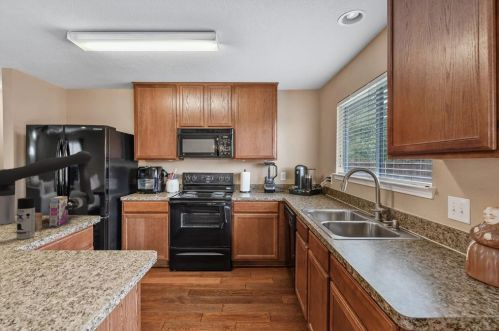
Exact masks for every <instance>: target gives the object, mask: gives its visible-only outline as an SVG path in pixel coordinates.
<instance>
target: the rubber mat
mask: <svg viewBox="0 0 499 331" xmlns="http://www.w3.org/2000/svg"><path fill="white" fill-rule="evenodd" d="M70 223H71V221H67V222H65V223H63V224H61V225H59V226H49V225H47V226H44V229H59V228H60V227H63V226H65V225H68V224H70Z"/></svg>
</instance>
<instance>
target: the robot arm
mask: <svg viewBox="0 0 499 331" xmlns="http://www.w3.org/2000/svg"><path fill="white" fill-rule="evenodd" d="M91 160H92V154H91V152H88V151H86V150H81V151H78V152H76V153H72V154H70V155H65V156H57V157H50V158H45V159H40V160H37V161H35V162H32V163H28V164H26V165H22V166H18V167H12V168H2V169H0V226H2V225H1V224H3V225H9V223H10V224H13V223H15V222H16V182H18V181H20V180H22V179H26V178H31V177H37V176H42V175H47V174H51V173H54V172H58V171H60V170H63V169H67V168H69V167H72V166H76V167H77V172H78V181H79V182H78V184H79V185H78V186H79V192H80V193H84V195H79V196H76V197H73V198H67V206H65V210H67V211H73V210H76V209H79V208H82V207H84V206H88V205H90V206H91V205H94V204H95V201H96V198H95V195H94V192H93V190H92V183H91V177H90V173H89V163H90V162H91ZM85 194H86V195H85ZM48 208H49V210H50V206H49V207H48Z"/></svg>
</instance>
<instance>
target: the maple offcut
mask: <svg viewBox="0 0 499 331" xmlns="http://www.w3.org/2000/svg"><path fill="white" fill-rule="evenodd" d="M35 224H38V230H41V228H42V229H43V224H42V221H39V222H36V223H35Z"/></svg>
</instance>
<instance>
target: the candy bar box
mask: <svg viewBox="0 0 499 331" xmlns="http://www.w3.org/2000/svg"><path fill="white" fill-rule="evenodd" d="M67 199H68V196H67V195H64V196H63V195H61V196H55V197H50V198H49V207H50V209H49V216H48V217H49V223H48V226H59V225H61V224H63V223H65V222H68V220H67V218H68V210H65V206H67Z"/></svg>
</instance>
